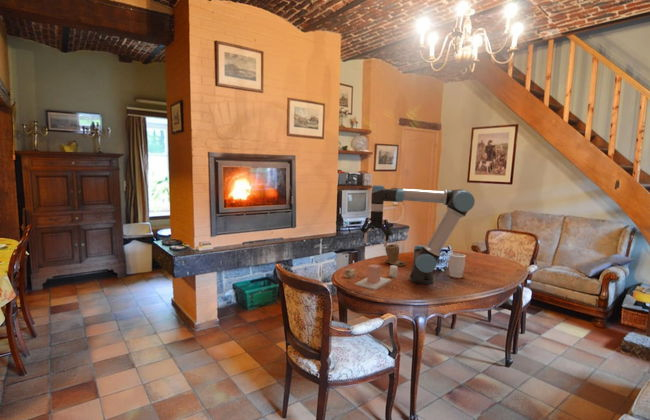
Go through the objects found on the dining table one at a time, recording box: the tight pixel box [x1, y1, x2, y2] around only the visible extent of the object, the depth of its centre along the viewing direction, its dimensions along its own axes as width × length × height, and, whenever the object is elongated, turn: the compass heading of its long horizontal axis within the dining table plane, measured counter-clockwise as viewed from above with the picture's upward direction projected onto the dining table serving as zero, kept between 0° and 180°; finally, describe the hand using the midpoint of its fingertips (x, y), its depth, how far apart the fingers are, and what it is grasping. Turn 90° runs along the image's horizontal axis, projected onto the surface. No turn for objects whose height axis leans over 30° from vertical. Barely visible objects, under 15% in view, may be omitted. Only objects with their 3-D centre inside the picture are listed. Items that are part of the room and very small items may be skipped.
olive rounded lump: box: [343, 267, 356, 279], centre depth 238 cm, size 5×5×5 cm
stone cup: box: [385, 243, 408, 267], centre depth 271 cm, size 15×12×15 cm
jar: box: [448, 252, 467, 279], centre depth 247 cm, size 11×10×15 cm
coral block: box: [366, 263, 382, 284], centre depth 227 cm, size 6×6×10 cm
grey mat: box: [354, 276, 392, 291], centre depth 228 cm, size 14×22×1 cm, turn 145°
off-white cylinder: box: [389, 264, 399, 279], centre depth 242 cm, size 5×5×7 cm
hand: (375, 244), depth 224 cm, fingers open, 13 cm apart
